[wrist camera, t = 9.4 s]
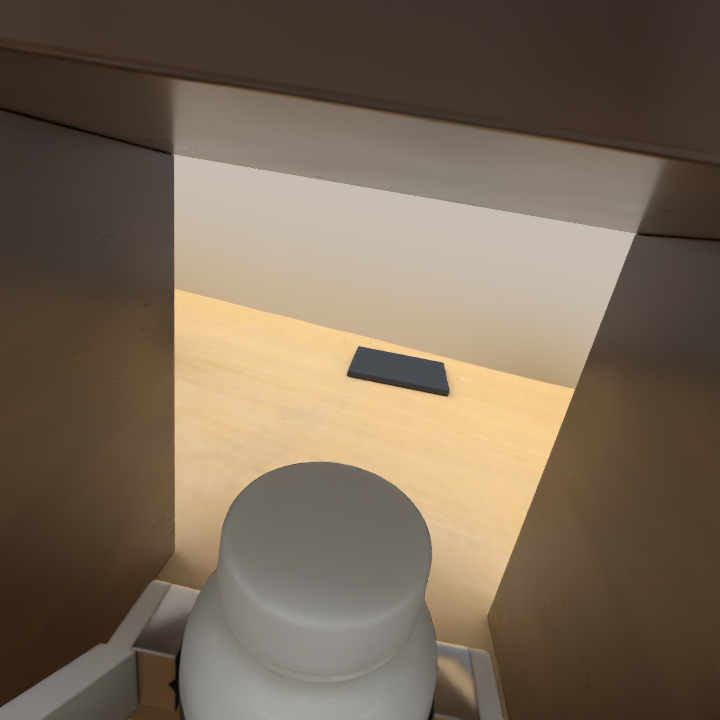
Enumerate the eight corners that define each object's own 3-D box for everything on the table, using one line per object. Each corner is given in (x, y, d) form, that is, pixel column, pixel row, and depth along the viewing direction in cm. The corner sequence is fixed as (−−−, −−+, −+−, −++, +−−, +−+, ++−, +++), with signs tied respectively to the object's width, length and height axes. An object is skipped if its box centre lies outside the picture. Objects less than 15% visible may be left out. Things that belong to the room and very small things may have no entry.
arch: (636, 1098, 8) (2008, 140, 2) (-120, 905, 9) (-789, -259, 3) (510, 620, 17) (684, 203, 11) (153, 544, 18) (142, 112, 12)
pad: (346, 376, 39) (347, 370, 39) (357, 350, 47) (358, 345, 47) (448, 396, 39) (449, 390, 38) (442, 367, 46) (443, 362, 46)
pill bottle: (207, 690, 13) (217, 434, 10) (367, 686, 14) (428, 449, 11) (143, 991, 8) (118, 682, 5) (399, 954, 9) (533, 672, 6)
